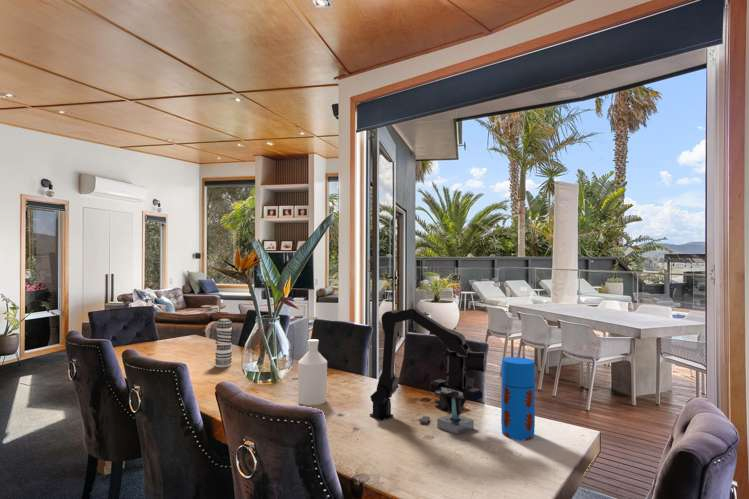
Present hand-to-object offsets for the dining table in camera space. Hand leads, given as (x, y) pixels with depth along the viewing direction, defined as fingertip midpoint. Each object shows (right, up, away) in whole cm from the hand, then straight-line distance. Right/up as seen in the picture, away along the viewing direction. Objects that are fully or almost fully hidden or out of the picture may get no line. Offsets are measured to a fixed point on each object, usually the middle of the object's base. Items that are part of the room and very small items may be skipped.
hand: (455, 414), depth 159 cm
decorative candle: (-111, -6, +87) cm, 141 cm away
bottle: (-54, -5, +28) cm, 61 cm away
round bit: (0, -2, 0) cm, 2 cm away
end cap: (+2, -6, +22) cm, 23 cm away
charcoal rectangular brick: (-10, -5, +6) cm, 13 cm away
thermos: (+20, -5, -5) cm, 22 cm away
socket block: (0, -5, 0) cm, 5 cm away
